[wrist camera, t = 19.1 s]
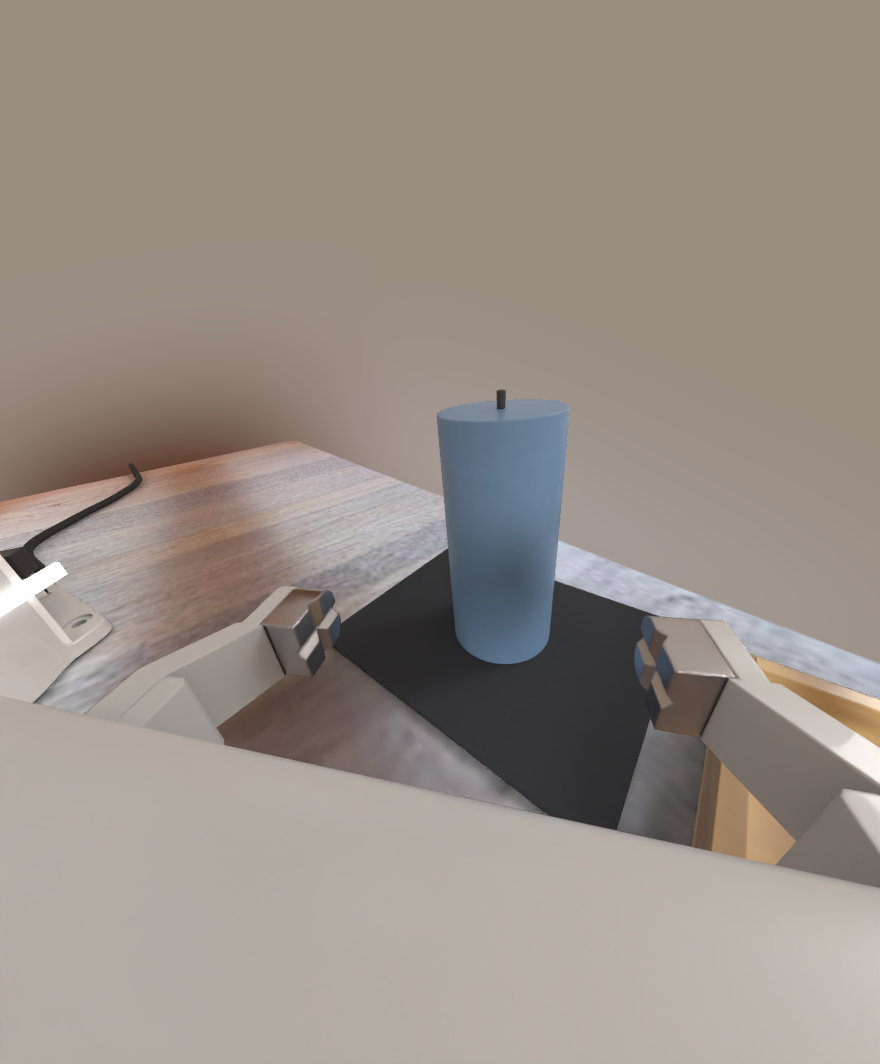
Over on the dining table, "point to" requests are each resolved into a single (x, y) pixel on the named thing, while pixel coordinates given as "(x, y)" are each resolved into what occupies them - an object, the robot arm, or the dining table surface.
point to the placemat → (518, 691)
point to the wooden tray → (729, 807)
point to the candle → (503, 520)
